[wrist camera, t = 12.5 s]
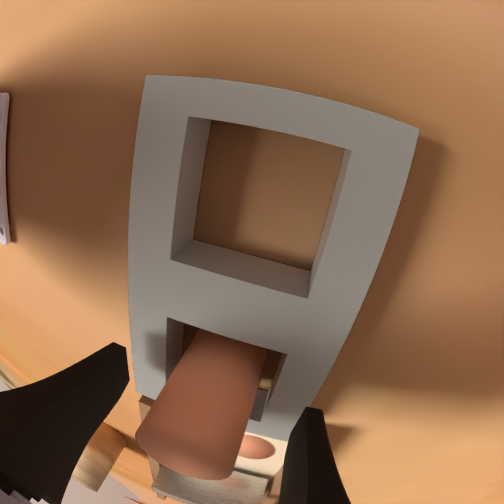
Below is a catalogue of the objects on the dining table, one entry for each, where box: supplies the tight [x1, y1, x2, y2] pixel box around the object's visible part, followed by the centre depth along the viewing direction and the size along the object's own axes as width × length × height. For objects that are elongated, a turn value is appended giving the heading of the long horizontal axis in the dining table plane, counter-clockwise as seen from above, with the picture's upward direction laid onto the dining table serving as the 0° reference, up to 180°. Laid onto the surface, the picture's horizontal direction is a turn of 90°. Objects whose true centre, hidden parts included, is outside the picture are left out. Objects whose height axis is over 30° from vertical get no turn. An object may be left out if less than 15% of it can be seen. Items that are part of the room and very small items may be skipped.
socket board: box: [128, 75, 420, 442], centre depth 11 cm, size 14×8×2 cm, turn 169°
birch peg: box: [71, 422, 127, 492], centre depth 18 cm, size 3×3×6 cm
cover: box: [151, 465, 268, 504], centre depth 17 cm, size 10×7×4 cm
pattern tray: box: [139, 395, 288, 504], centre depth 18 cm, size 19×10×2 cm, turn 169°
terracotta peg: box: [135, 328, 267, 480], centre depth 11 cm, size 3×3×6 cm
